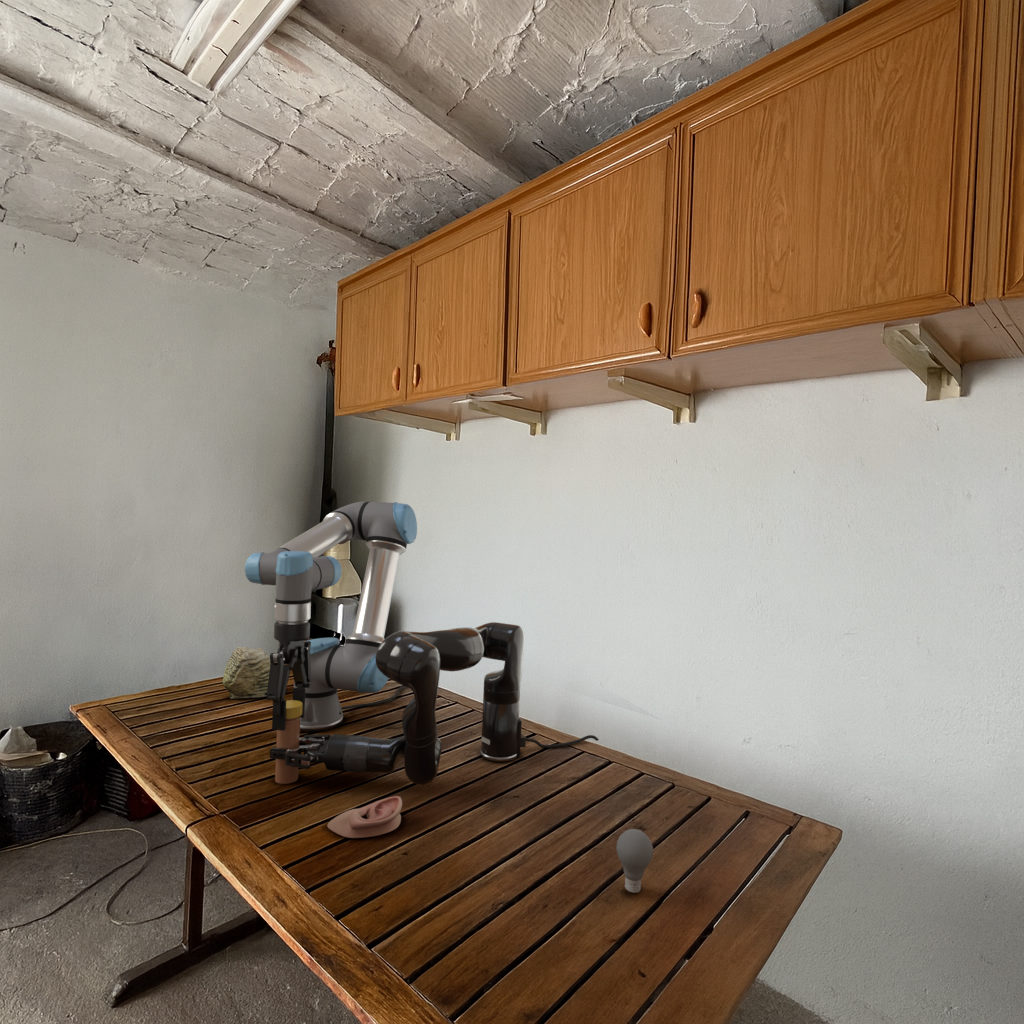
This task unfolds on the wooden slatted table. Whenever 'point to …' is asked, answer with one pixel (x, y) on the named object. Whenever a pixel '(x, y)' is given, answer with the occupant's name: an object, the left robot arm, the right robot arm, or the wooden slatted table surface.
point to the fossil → (247, 673)
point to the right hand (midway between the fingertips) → (276, 748)
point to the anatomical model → (369, 819)
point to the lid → (293, 709)
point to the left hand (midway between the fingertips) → (288, 722)
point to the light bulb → (634, 857)
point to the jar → (289, 741)
